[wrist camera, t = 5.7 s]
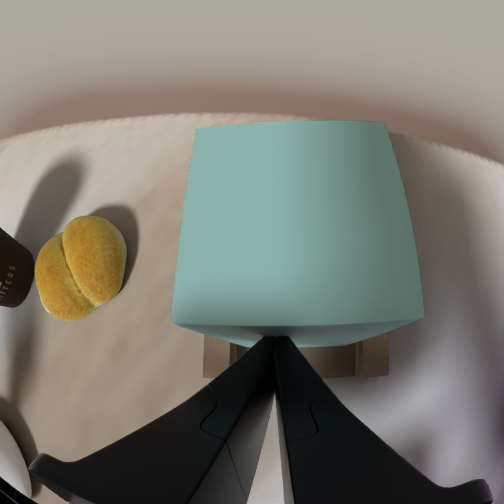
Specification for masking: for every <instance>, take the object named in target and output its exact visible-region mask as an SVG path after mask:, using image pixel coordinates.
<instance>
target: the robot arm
mask: <svg viewBox="0 0 504 504" xmlns="http://www.w3.org/2000/svg"><path fill="white" fill-rule="evenodd" d="M274 395H275V399H276V410H277V421H278V432H279V443H280V454H281V465H282V477H283V489H284V501H285V504H492V502H493V498H492V494H491V491H490V489H489V486H488V485H487V483H486V481H485V480H484V479H476V480H472V481H470V482H467V483H464V484H461V485H458V486H455V487H450V488H446V487H441V486H438V485H436V484H434V483H433V482H432V481H431V480H429V479H428V478H427V477H426V476H424V475H423V474H422V473H421V472H419V471H418V470H417V469H416V468H415V467H413V466H412V465H411V464H410V463H409V462H407V461H406V460H405V459H404V458H403V457H402V456H400V455H399V454H398V453H397V452H396V451H394V450H393V449H392V448H391V447H390V446H389V445H387V444H386V443H385V442H384V441H383V440H382V439H381V438H379V437H378V436H377V435H376V434H375V433H374V432H373V431H371V430H370V429H369V428H368V427H367V426H366V425H365V424H364V423H362V422H361V421H360V420H359V419H358V418H357V417H356V416H355V415H354V414H352V413H351V412H350V411H349V410H348V409H347V408H346V407H345V406H344V405H343V404H342V403H341V401H340V400H339V399H338V398H337V397H336V396H335V394H334V393H333V392H332V391H331V389H330V388H328V386H327V385H326V384H325V382H324V381H323V380H322V378H321V377H320V376H319V375H318V373H317V372H316V371H315V369H314V368H313V367H312V366H311V364H310V363H309V362H308V360H307V359H306V358H305V357H304V355H303V354H302V353H301V351H300V350H299V349H298V347H297V346H296V345H295V344H294V342H293V341H292V340H291V338H290V337H289V336H277V337H275V336H264V337H262V338H261V339H260V340H259V341H258V342H257V343H256V344H254V345H253V346H252V347H251V348H250V349H249V350H248V351H247V352H245V353H244V354H243V355H242V356H241V357H240V358H238V359H237V360H236V361H235V362H234V363H233V364H231V365H230V366H229V367H228V368H227V369H226V370H224V371H223V372H222V373H221V374H220V375H218V376H217V377H216V378H215V379H214V380H212V381H211V382H210V383H209V384H208V385H206V386H205V387H203V388H202V389H201V390H200V391H198V392H197V393H196V394H194V395H193V396H192V397H190V398H189V399H188V400H186V401H185V402H183V403H182V404H180V405H179V406H177V407H176V408H174V409H172V410H171V411H169V412H167V413H166V414H164V415H162V416H161V417H159V418H157V419H155V420H154V421H152V422H150V423H149V424H147V425H145V426H143V427H142V428H140V429H138V430H136V431H134V432H133V433H131V434H129V435H127V436H125V437H123V438H122V439H120V440H118V441H116V442H114V443H112V444H110V445H108V446H106V447H104V448H102V449H101V450H99V451H97V452H95V453H93V454H91V455H89V456H86V457H84V458H82V459H80V460H78V461H75V462H63V461H60V460H58V459H56V458H54V457H52V456H50V455H48V454H45V453H41V454H39V455H38V456H37V457H36V458H35V459H34V460H33V462H32V463H31V464H30V466H29V468H28V471H29V473H30V474H31V475H32V476H34V477H35V478H36V479H37V480H38V481H40V482H41V483H42V484H44V485H45V486H46V487H47V488H49V489H50V490H51V491H53V492H54V493H55V494H57V495H58V496H60V497H61V498H62V499H64V500H65V501H67V504H247V501H248V497H249V494H250V490H251V487H252V483H253V479H254V476H255V472H256V468H257V465H258V461H259V457H260V453H261V449H262V446H263V442H264V438H265V434H266V430H267V426H268V421H269V417H270V413H271V409H272V405H273V400H274ZM0 504H37V503H36V502H34V501H33V500H31V499H30V498H28V497H27V496H25V495H24V494H22V493H21V492H20V491H18V490H17V489H16V488H14V487H13V486H12V485H10V484H9V483H8V482H6V481H5V480H4V479H3V478H2V477H0Z"/></svg>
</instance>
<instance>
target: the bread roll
mask: <svg viewBox="0 0 504 504" xmlns="http://www.w3.org/2000/svg"><path fill="white" fill-rule="evenodd" d="M126 257H127V247H126V243H125V240H124V238H123V236H122V234H121V233H120V231H119V230H118V229H117V228H116V227H115V226H114V225H113V224H112V223H110V222H109V221H108V220H106V219H104V218H101V217H98V216H81V217H77V218H75V219H73V220H72V221H71V222H70V223H69V224H68V225H67V226H66V227H65V229H64V231H63V232H62V233H60V234H58V235H56V236H54V237H52V238H51V239H49V240H48V241H47V242H46V243H45V244H44V245H43V247H42V248H41V250H40V252H39V254H38V257H37V260H36V264H35V279H36V284H37V288H38V292H39V295H40V299H41V302H42V304H43V306H44V308H45V309H46V311H47V312H49V313H50V314H53V315H54V316H55V317H56V318H58V319H61V320H63V321H72V320H77V319H80V318H83V317H85V316H86V315H88V314H89V313H91V312H92V311H93V310H94V309H96V308H97V307H99V306H100V305H102V304H104V303H106V302H108V301H110V300H111V299H112V298H113V297H114V296H116V295H117V293H118V292H119V290H120V288H121V286H122V282H123V276H124V271H125V264H126Z"/></svg>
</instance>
